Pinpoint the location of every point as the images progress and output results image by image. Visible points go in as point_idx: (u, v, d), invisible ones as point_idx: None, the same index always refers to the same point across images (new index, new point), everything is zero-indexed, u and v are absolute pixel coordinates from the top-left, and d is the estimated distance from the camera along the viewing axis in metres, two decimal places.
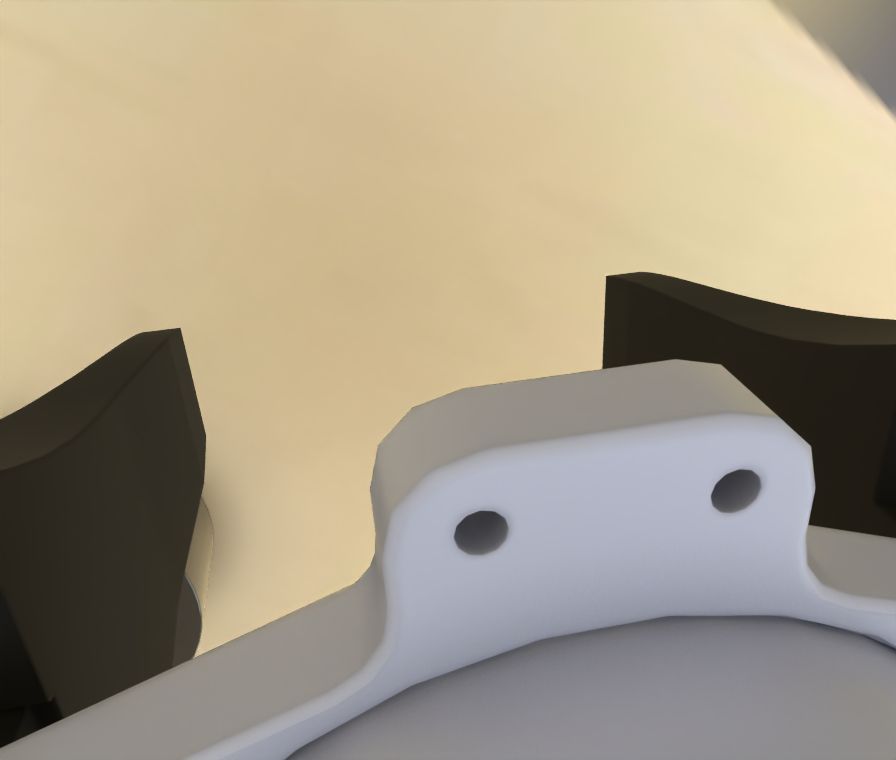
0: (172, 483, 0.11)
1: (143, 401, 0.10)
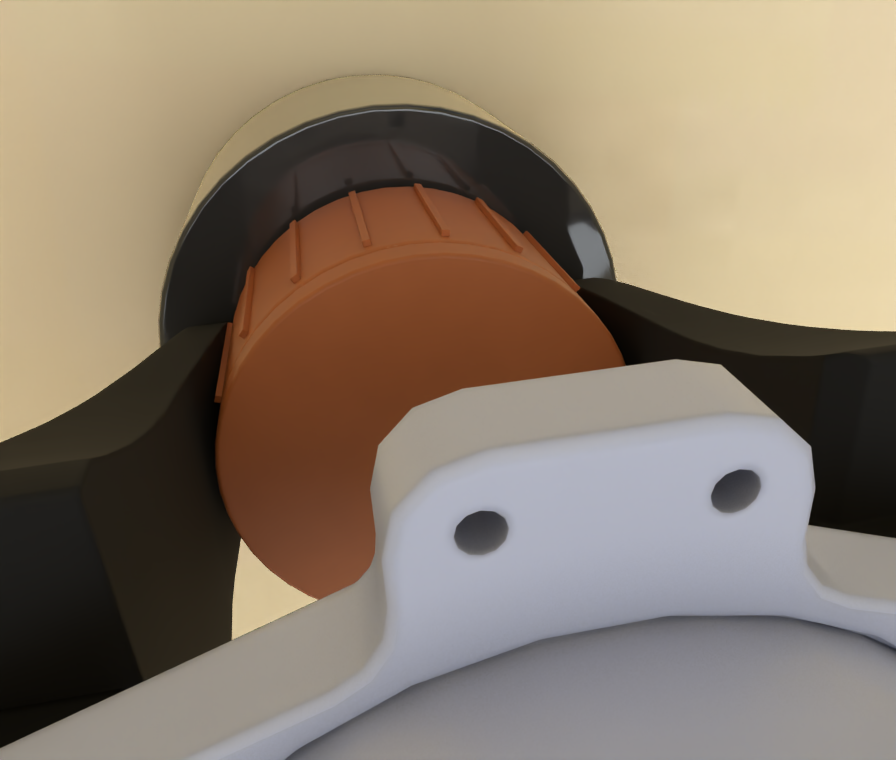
0: None
1: (201, 393, 0.10)
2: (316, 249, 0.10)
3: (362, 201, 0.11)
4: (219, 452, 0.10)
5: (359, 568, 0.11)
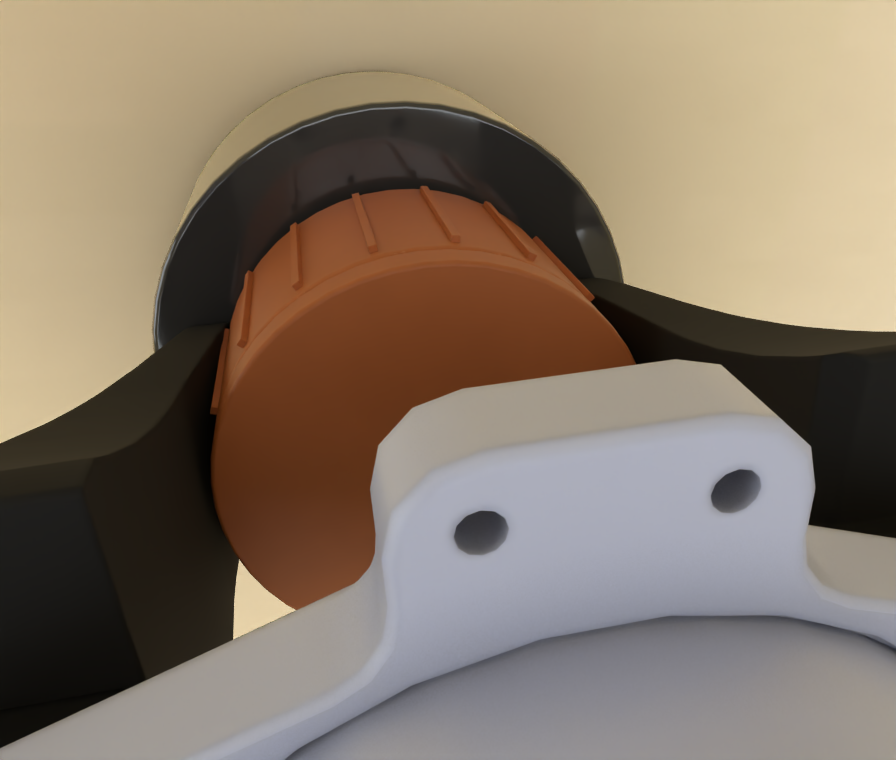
0: None
1: (202, 393, 0.10)
2: (319, 254, 0.10)
3: (366, 204, 0.11)
4: (215, 467, 0.09)
5: None
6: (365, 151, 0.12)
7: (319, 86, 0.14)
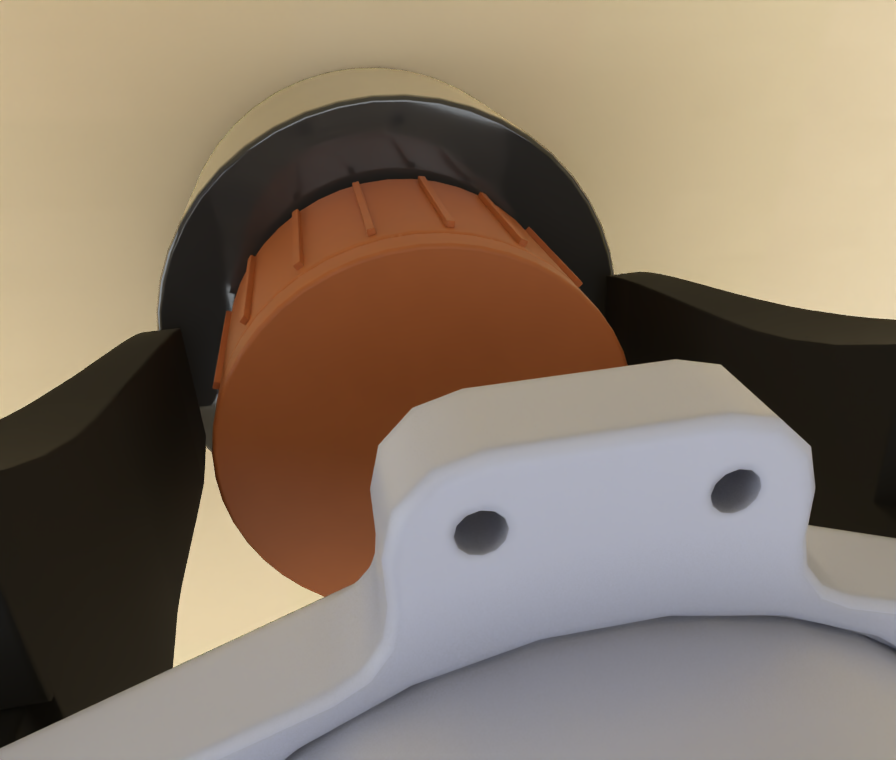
0: (172, 483, 0.11)
1: (143, 401, 0.10)
2: (319, 237, 0.10)
3: (366, 192, 0.11)
4: (216, 438, 0.10)
5: (354, 560, 0.11)
6: (366, 142, 0.12)
7: (322, 80, 0.14)
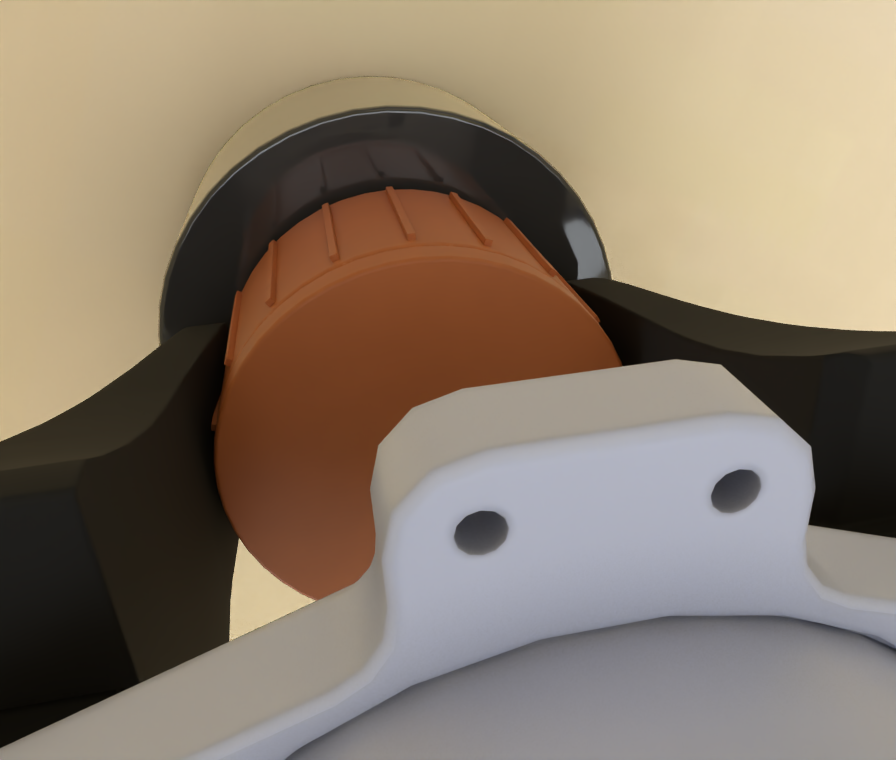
0: None
1: (199, 393, 0.10)
2: None
3: None
4: None
5: None
6: (199, 322, 0.13)
7: None
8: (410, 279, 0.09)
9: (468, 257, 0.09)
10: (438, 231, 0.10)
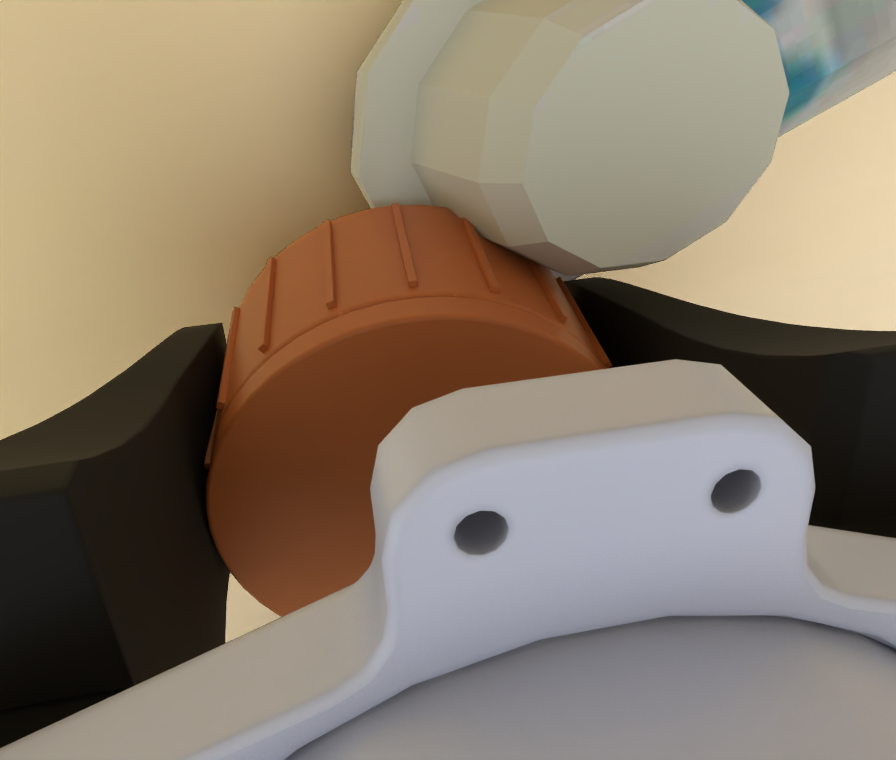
0: None
1: (194, 394, 0.10)
2: None
3: None
4: None
5: None
6: None
7: None
8: (409, 337, 0.09)
9: (472, 315, 0.09)
10: (442, 273, 0.10)
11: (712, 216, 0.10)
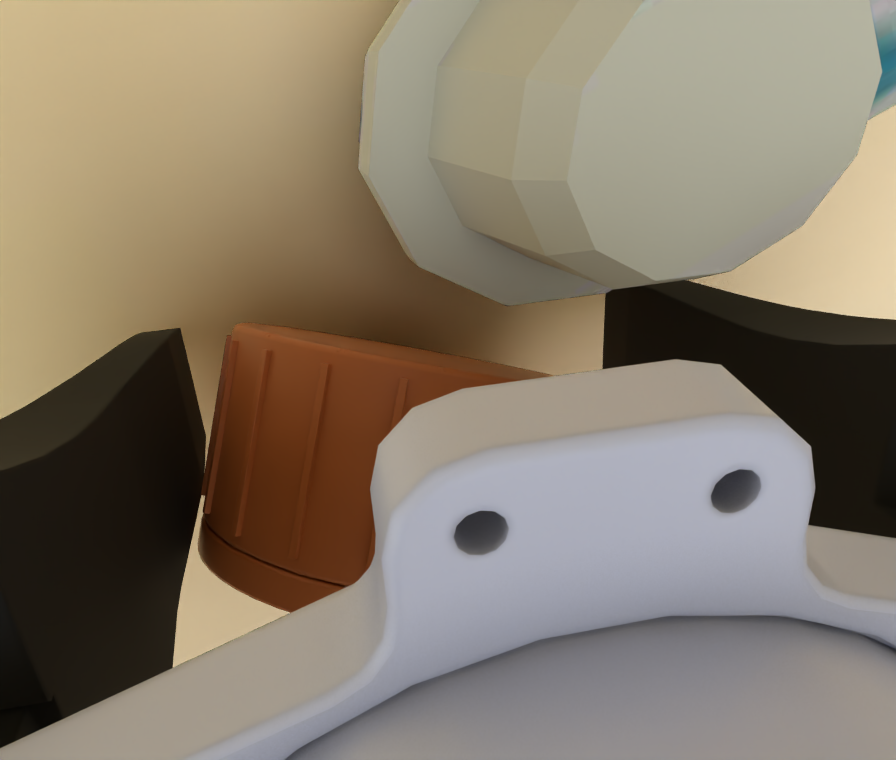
0: (172, 483, 0.11)
1: (143, 401, 0.10)
2: None
3: None
4: None
5: None
6: None
7: None
8: None
9: None
10: None
11: (787, 219, 0.09)
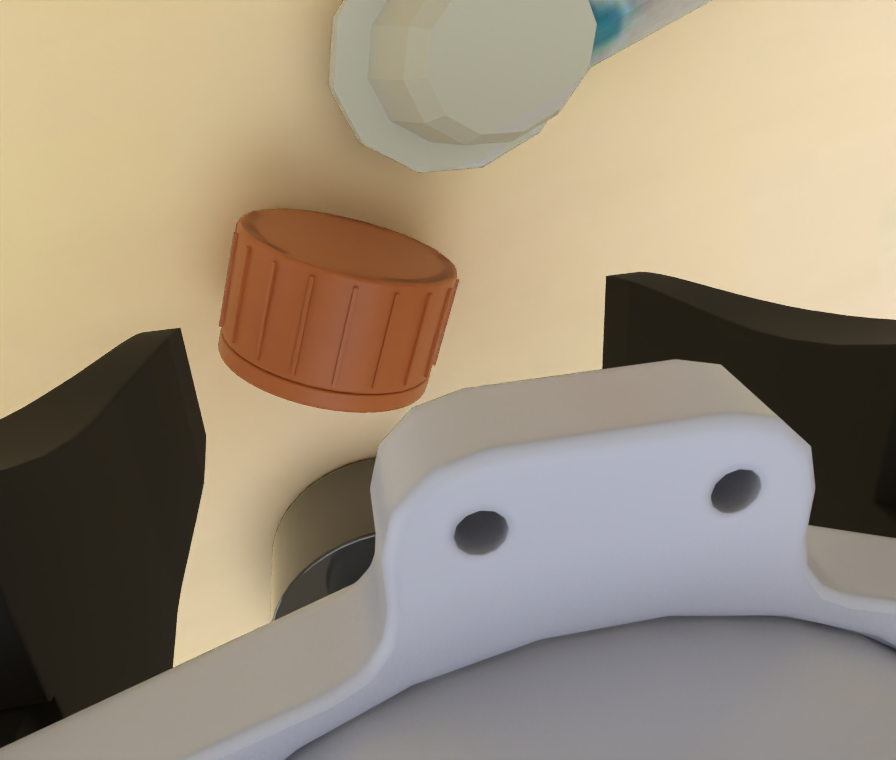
0: (172, 483, 0.11)
1: (143, 401, 0.10)
2: None
3: None
4: None
5: None
6: (347, 562, 0.23)
7: (320, 496, 0.25)
8: (286, 395, 0.19)
9: (311, 405, 0.19)
10: (312, 365, 0.18)
11: (553, 104, 0.16)
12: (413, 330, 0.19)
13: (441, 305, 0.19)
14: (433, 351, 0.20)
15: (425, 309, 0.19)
